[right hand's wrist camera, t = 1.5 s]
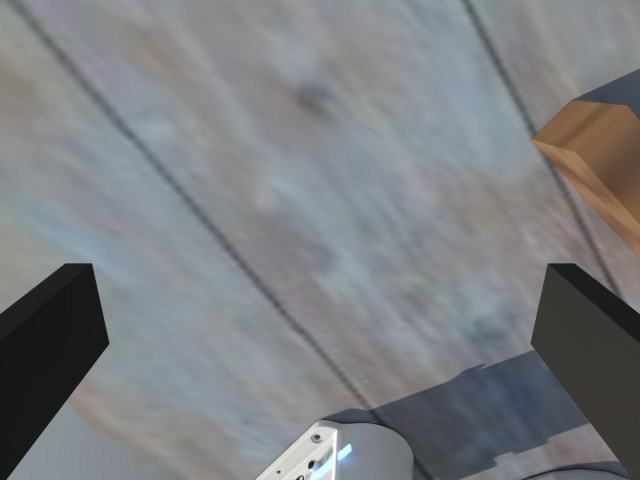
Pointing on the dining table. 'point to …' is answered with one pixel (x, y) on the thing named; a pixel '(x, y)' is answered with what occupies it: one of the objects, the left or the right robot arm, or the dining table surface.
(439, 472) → the dining table surface
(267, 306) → the dining table surface
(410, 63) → the dining table surface
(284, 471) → the left robot arm
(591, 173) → the bar
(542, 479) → the wall clock
